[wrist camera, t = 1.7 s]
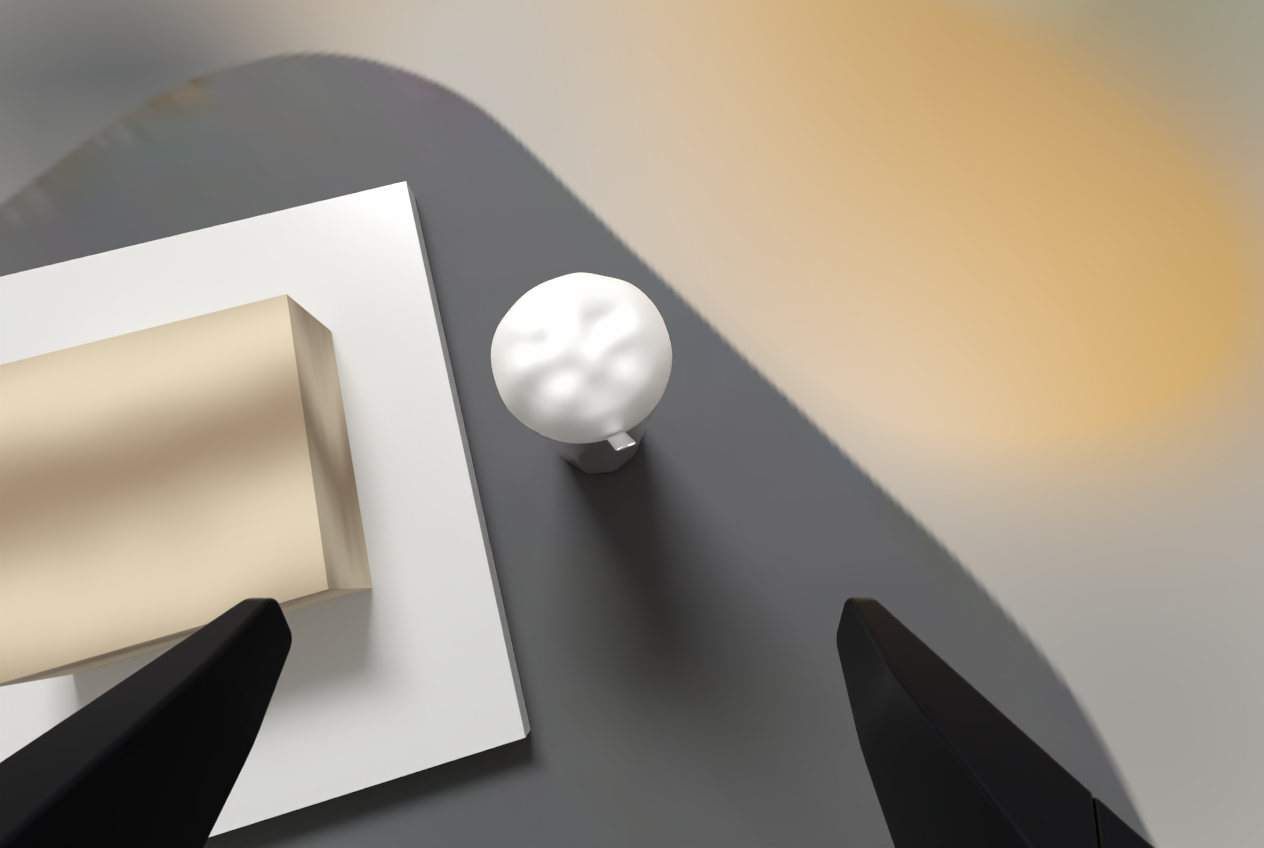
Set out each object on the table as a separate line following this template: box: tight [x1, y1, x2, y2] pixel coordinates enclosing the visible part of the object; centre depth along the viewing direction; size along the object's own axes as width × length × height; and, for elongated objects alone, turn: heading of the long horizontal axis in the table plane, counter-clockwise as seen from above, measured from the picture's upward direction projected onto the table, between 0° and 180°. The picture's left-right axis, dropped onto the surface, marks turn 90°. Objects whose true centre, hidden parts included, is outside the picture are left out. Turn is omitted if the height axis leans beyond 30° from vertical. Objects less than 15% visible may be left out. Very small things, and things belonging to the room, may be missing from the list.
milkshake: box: [491, 273, 672, 474], centre depth 17 cm, size 4×5×10 cm
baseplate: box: [0, 181, 531, 837], centre depth 21 cm, size 22×18×1 cm
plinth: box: [0, 294, 373, 687], centre depth 19 cm, size 10×10×3 cm
